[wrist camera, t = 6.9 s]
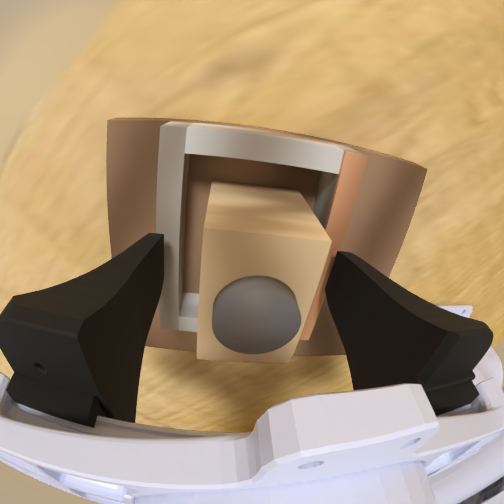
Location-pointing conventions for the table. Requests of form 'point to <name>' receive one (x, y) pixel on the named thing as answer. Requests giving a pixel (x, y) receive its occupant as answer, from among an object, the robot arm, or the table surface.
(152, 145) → the board
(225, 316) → the knob block
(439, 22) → the table surface
